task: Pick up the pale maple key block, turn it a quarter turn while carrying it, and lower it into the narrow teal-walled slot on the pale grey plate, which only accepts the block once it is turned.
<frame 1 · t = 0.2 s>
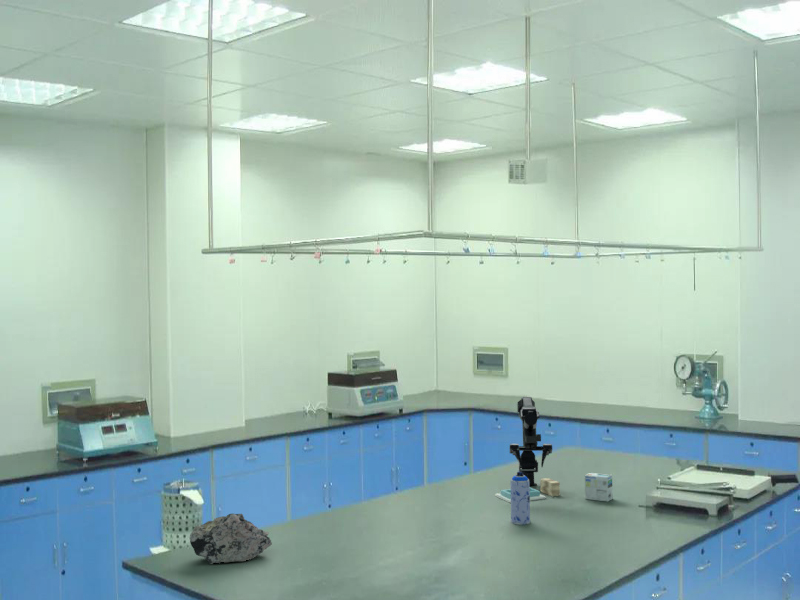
hand: (531, 467, 368), 14 cm above the countertop, tool tilted 30°, fingers open, 9 cm apart
aerosol can: (520, 522, 333), on the countertop
mineral sample: (230, 558, 292), on the countertop
keyed cradle: (520, 497, 373), on the countertop
key block: (550, 493, 380), on the countertop
light bulb box: (599, 499, 368), on the countertop
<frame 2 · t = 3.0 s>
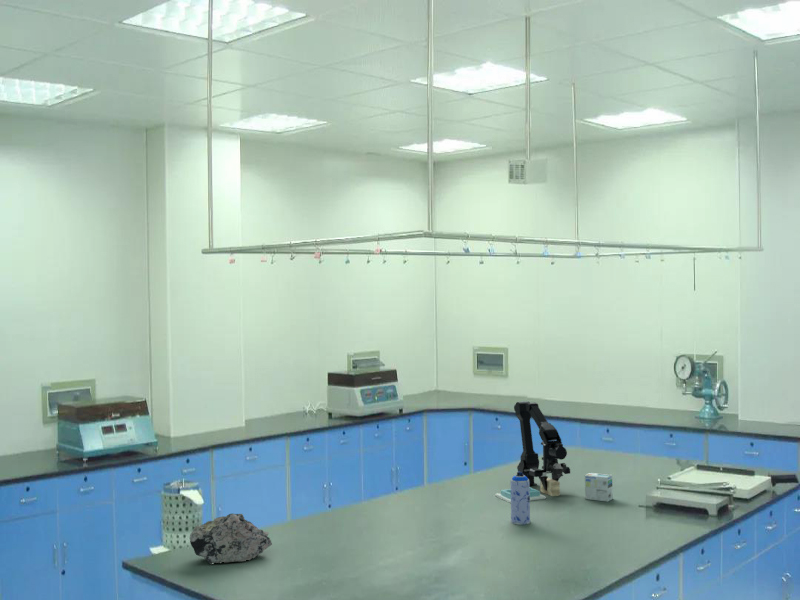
hand: (550, 490, 380), 2 cm above the countertop, tool pointing down, fingers closed on key block, 4 cm apart
key block: (550, 493, 380), on the countertop, touching gripper
everything else where it was.
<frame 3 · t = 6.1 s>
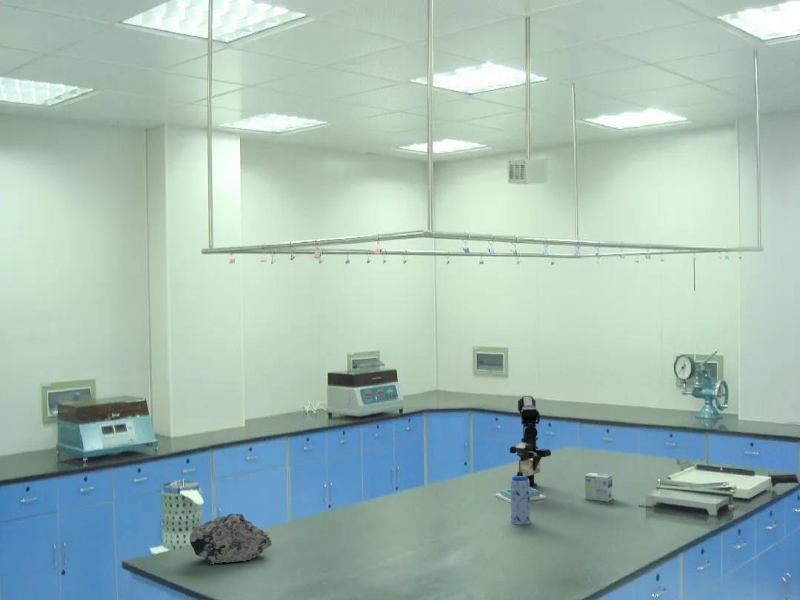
hand: (530, 470, 375), 12 cm above the countertop, tool pointing down, fingers closed on key block, 4 cm apart
key block: (530, 473, 375), point 10 cm above the countertop, touching gripper
everything else where it was.
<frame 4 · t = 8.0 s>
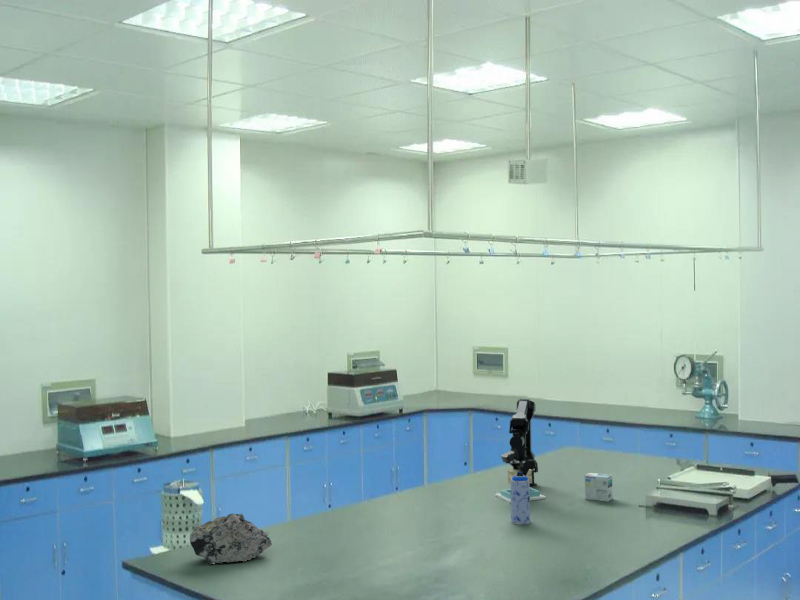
hand: (520, 479, 373), 8 cm above the countertop, tool pointing down, fingers closed on key block, 4 cm apart
key block: (520, 483, 373), point 6 cm above the countertop, touching gripper
everything else where it was.
when the fingers open (4 cm above the countertop, at t = 9.4 s): key block drops 1 cm, resting on keyed cradle.
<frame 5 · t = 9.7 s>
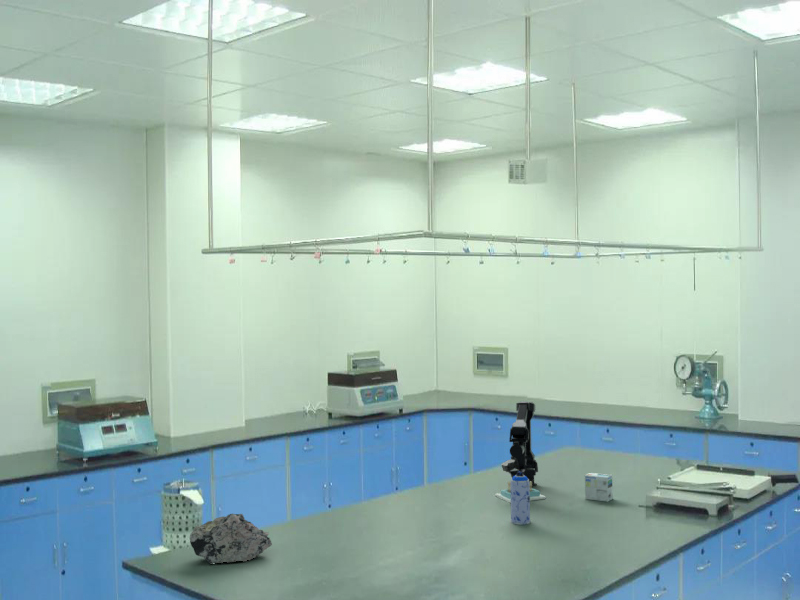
hand: (520, 488, 373), 4 cm above the countertop, tool pointing down, fingers open, 8 cm apart
key block: (520, 495, 373), point 1 cm above the countertop, touching keyed cradle
everything else where it was.
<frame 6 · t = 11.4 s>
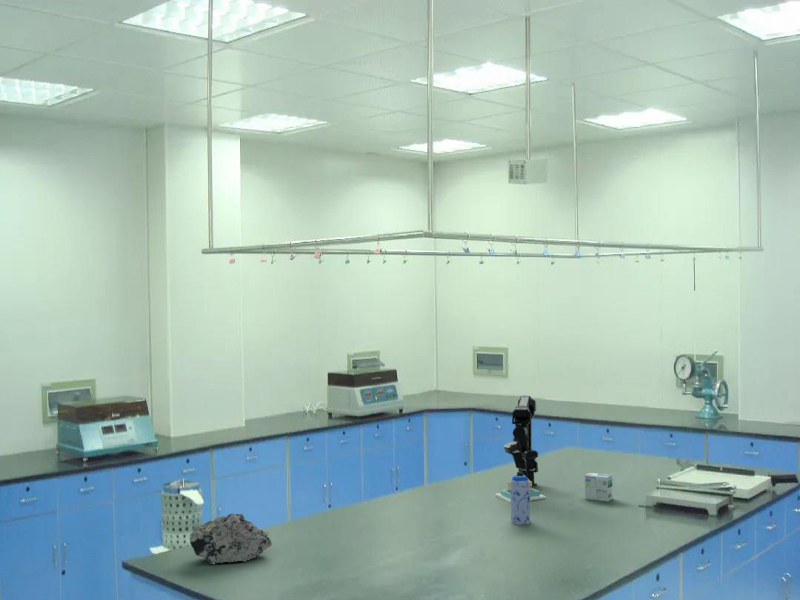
hand: (522, 469, 377), 12 cm above the countertop, tool pointing down, fingers open, 9 cm apart
nothing on the countertop moved.
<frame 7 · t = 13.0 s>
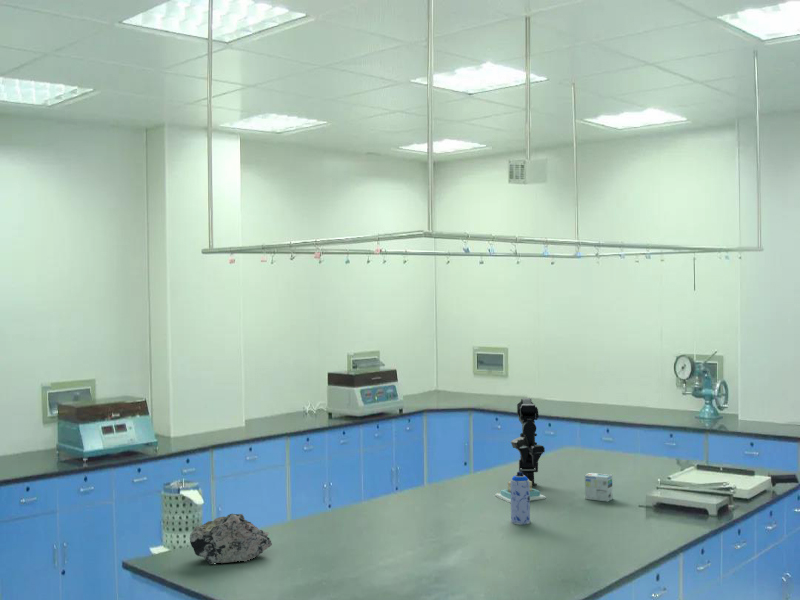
hand: (529, 465, 385), 12 cm above the countertop, tool pointing down, fingers open, 9 cm apart
nothing on the countertop moved.
at the end: key block 0.0 cm off-centre on the keyed cradle, point 1.0 cm above the keyed cradle's base; key block tilted 0°; the gripper is holding nothing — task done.
